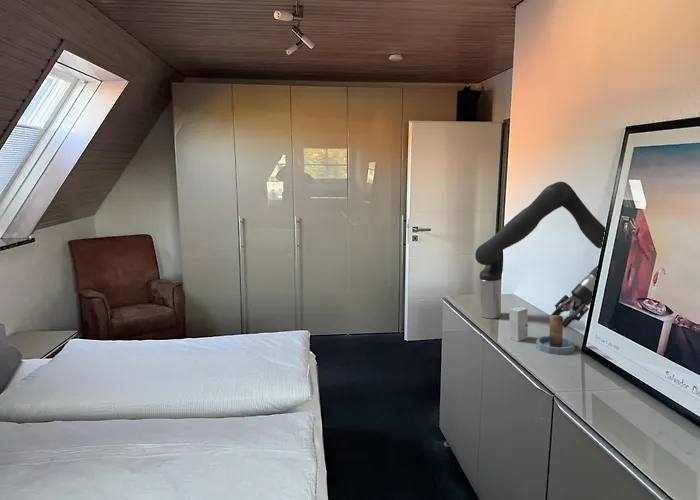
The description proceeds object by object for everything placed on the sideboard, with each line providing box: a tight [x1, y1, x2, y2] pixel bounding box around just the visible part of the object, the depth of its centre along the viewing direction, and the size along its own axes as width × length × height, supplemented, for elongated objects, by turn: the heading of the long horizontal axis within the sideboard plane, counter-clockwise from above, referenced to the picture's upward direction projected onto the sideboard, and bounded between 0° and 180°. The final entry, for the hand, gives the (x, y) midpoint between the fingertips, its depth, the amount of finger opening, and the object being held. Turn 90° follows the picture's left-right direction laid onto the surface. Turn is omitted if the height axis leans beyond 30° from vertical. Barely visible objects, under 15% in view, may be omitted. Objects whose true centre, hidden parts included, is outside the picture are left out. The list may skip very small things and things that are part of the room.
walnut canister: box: [549, 314, 564, 347], centre depth 181 cm, size 4×4×11 cm
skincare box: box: [508, 306, 529, 342], centre depth 192 cm, size 6×4×12 cm
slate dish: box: [535, 335, 576, 355], centre depth 182 cm, size 13×13×2 cm
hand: (557, 322), depth 180 cm, fingers open, 8 cm apart
